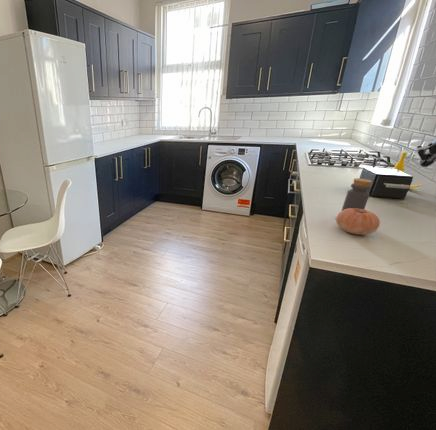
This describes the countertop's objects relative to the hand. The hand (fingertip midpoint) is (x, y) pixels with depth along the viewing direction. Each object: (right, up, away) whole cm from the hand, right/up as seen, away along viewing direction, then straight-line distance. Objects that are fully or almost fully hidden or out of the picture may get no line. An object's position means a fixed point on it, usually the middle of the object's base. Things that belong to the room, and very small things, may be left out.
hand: (423, 164), depth 104 cm
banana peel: (+23, -4, +38) cm, 44 cm away
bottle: (-31, -21, -3) cm, 37 cm away
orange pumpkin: (-37, -25, -12) cm, 46 cm away
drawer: (+7, -9, +22) cm, 25 cm away
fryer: (+8, -8, +26) cm, 29 cm away
